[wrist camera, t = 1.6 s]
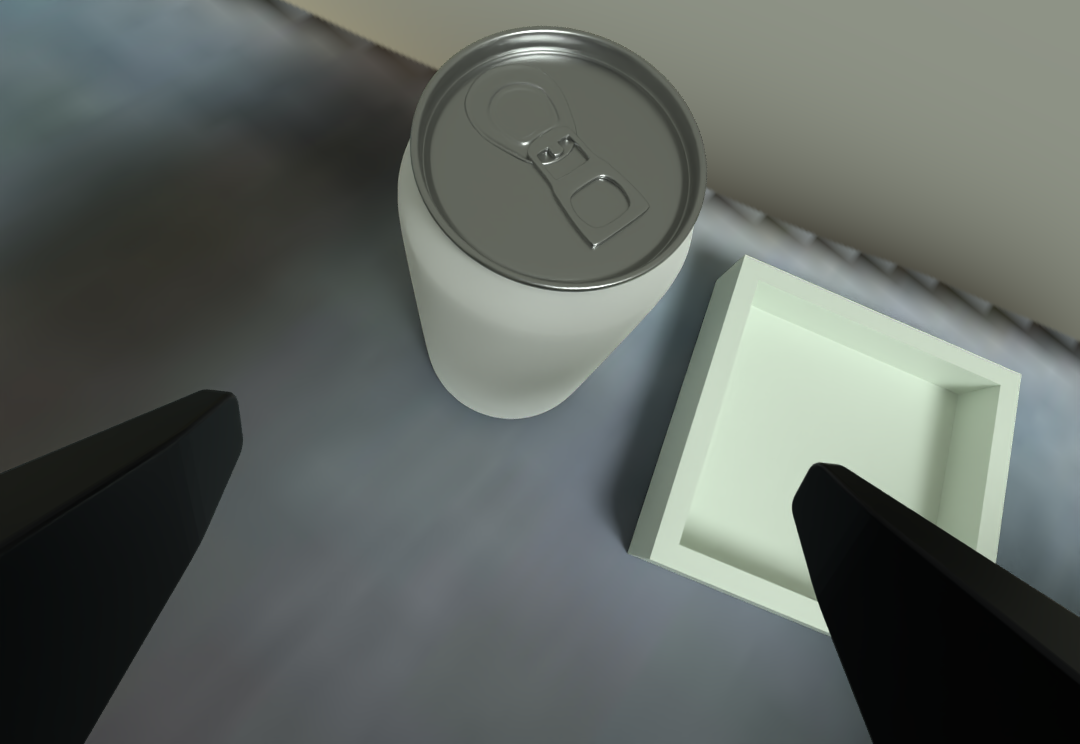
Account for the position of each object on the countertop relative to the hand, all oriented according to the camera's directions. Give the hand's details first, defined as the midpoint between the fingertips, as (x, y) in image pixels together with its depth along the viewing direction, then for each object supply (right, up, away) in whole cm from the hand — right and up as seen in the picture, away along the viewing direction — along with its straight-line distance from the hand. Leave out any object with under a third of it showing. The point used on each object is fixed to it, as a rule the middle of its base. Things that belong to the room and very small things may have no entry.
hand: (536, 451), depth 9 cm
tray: (+11, -2, +14) cm, 18 cm away
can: (-1, +2, +13) cm, 14 cm away
